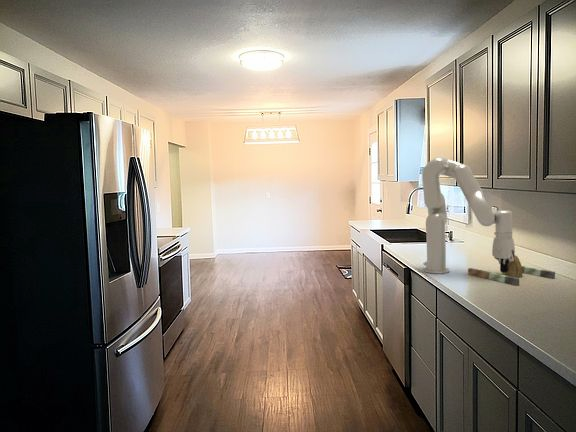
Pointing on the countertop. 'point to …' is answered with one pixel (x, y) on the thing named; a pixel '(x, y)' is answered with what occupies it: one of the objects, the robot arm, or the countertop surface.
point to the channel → (507, 278)
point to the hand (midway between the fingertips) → (503, 271)
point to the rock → (514, 268)
